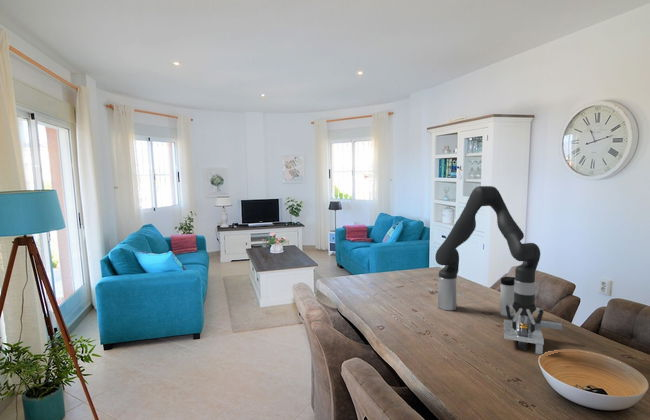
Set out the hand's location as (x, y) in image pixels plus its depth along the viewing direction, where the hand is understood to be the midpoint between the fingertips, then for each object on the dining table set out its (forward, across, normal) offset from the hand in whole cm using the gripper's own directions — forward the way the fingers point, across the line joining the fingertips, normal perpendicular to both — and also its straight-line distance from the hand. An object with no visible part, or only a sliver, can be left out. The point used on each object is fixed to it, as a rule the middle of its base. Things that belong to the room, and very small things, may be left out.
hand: (523, 330), depth 146 cm
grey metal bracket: (+7, +4, +5) cm, 10 cm away
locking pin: (+7, 0, 0) cm, 7 cm away
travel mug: (+8, -5, +34) cm, 35 cm away
